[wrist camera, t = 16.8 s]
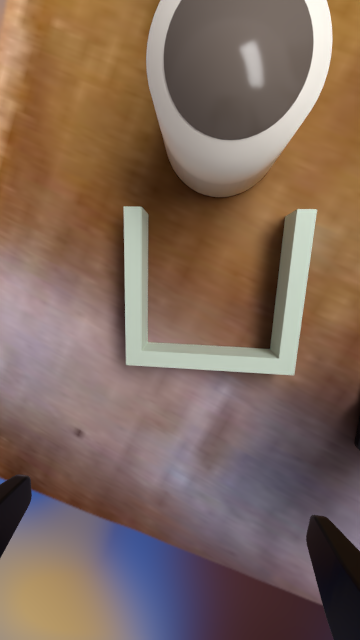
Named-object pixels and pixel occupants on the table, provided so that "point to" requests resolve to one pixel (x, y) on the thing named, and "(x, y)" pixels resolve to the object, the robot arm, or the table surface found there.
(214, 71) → the saucepan
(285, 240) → the u-shaped frame
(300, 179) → the table surface
